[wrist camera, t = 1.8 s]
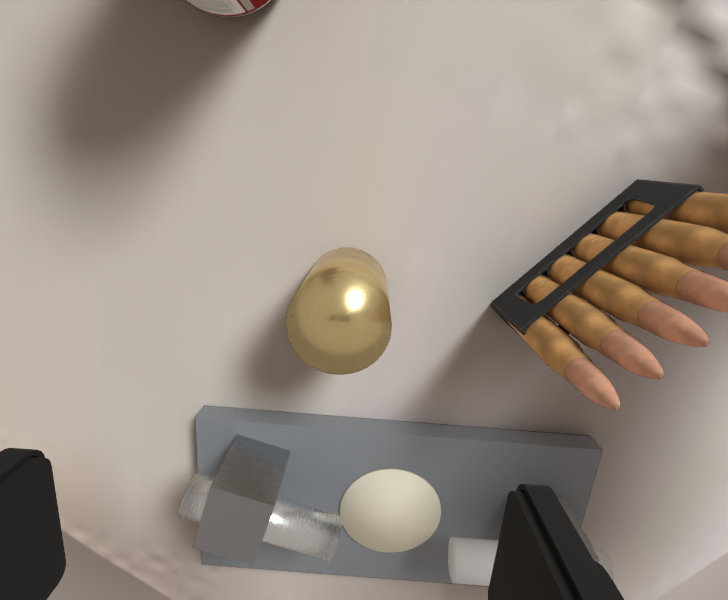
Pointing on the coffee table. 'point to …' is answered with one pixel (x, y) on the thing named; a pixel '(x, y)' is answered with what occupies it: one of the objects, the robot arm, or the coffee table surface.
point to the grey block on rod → (254, 508)
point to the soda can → (229, 7)
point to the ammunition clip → (623, 283)
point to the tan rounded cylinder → (341, 313)
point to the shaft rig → (404, 488)
